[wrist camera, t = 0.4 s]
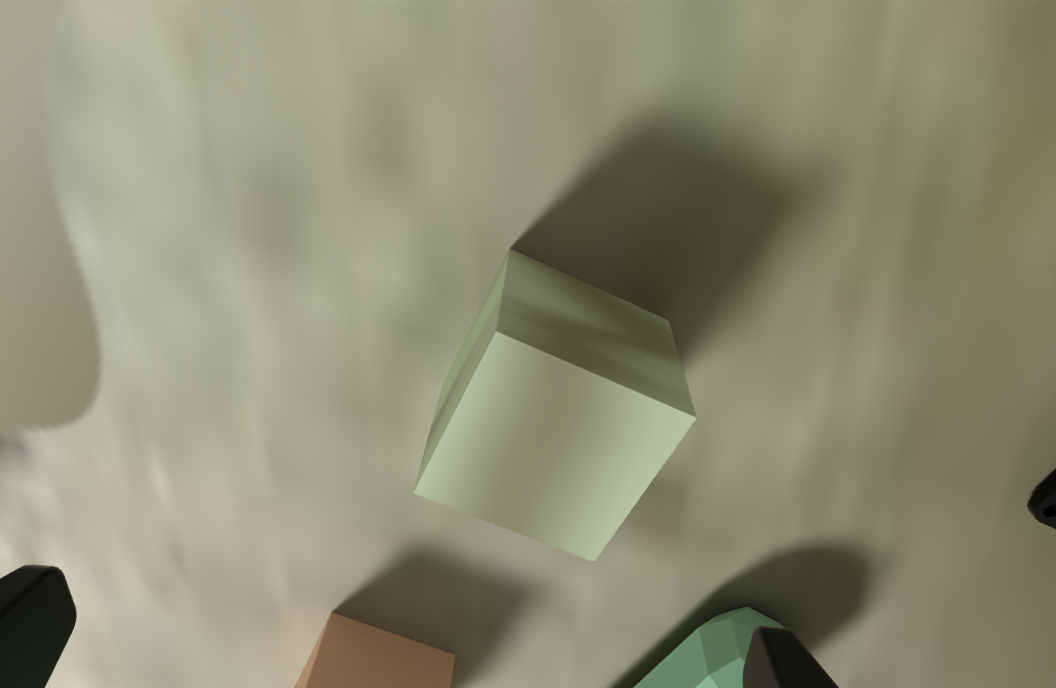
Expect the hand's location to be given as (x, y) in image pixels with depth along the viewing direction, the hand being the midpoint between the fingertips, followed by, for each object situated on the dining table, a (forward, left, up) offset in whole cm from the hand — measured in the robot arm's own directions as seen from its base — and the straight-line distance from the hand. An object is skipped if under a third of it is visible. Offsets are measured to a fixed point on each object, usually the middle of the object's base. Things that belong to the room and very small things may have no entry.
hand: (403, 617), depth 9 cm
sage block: (-3, +2, -12) cm, 13 cm away
